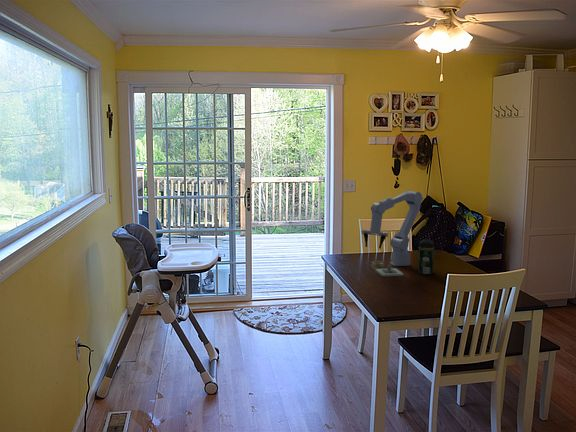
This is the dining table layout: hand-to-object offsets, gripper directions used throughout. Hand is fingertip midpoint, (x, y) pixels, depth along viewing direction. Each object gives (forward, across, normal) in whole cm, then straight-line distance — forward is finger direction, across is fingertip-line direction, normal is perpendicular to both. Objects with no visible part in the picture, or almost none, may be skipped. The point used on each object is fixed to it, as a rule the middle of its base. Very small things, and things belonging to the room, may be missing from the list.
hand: (372, 247), depth 291 cm
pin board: (+12, +10, -10) cm, 18 cm away
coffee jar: (+9, +30, -7) cm, 32 cm away
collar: (+11, +4, +1) cm, 12 cm away
